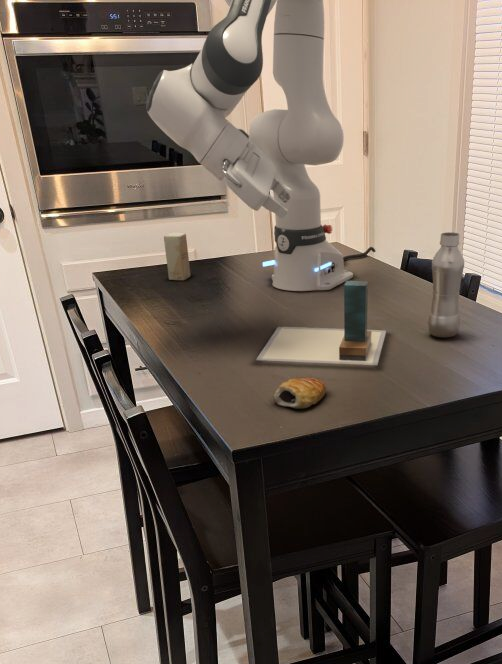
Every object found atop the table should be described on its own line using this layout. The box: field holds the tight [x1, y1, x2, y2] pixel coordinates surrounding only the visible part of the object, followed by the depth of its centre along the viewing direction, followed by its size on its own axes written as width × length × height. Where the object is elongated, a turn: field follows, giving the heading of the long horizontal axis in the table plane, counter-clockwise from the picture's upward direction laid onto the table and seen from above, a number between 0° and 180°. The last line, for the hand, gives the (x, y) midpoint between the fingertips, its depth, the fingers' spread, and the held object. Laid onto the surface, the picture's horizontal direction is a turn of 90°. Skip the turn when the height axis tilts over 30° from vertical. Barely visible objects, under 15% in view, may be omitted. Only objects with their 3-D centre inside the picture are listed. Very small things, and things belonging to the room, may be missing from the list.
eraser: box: [339, 280, 371, 361], centre depth 136 cm, size 5×10×13 cm, turn 172°
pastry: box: [273, 377, 327, 410], centre depth 121 cm, size 9×7×4 cm
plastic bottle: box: [427, 232, 465, 338], centre depth 143 cm, size 6×7×20 cm
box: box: [163, 231, 191, 281], centre depth 187 cm, size 5×4×11 cm
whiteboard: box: [255, 326, 387, 366], centre depth 143 cm, size 23×20×1 cm
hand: (287, 206), depth 136 cm, fingers open, 8 cm apart
